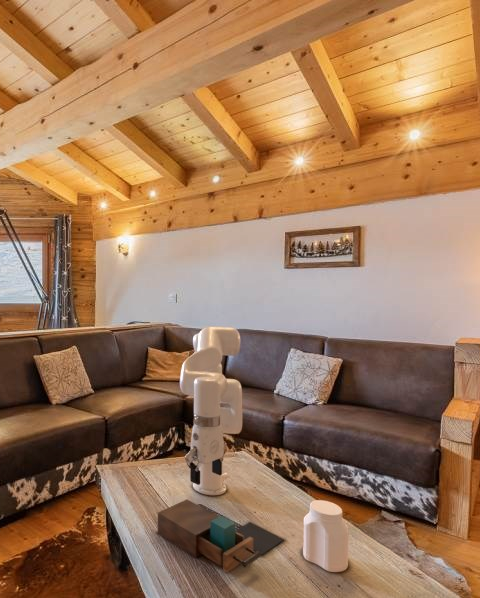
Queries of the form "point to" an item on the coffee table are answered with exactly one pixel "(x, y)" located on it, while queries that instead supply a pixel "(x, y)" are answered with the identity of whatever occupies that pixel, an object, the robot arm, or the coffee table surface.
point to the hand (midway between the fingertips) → (206, 478)
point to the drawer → (229, 551)
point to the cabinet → (185, 525)
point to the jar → (326, 536)
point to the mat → (260, 537)
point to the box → (222, 533)
